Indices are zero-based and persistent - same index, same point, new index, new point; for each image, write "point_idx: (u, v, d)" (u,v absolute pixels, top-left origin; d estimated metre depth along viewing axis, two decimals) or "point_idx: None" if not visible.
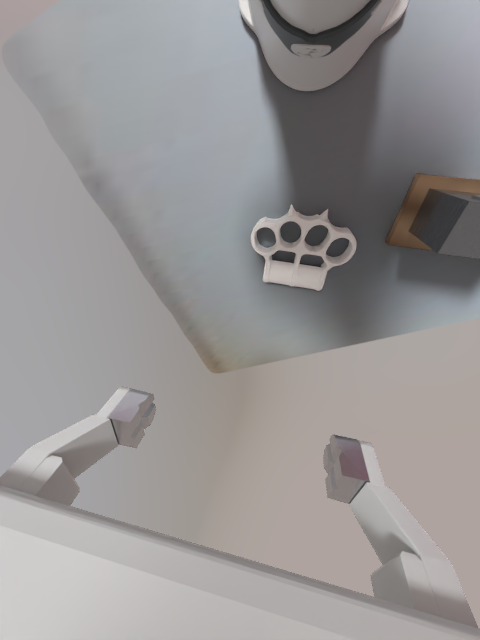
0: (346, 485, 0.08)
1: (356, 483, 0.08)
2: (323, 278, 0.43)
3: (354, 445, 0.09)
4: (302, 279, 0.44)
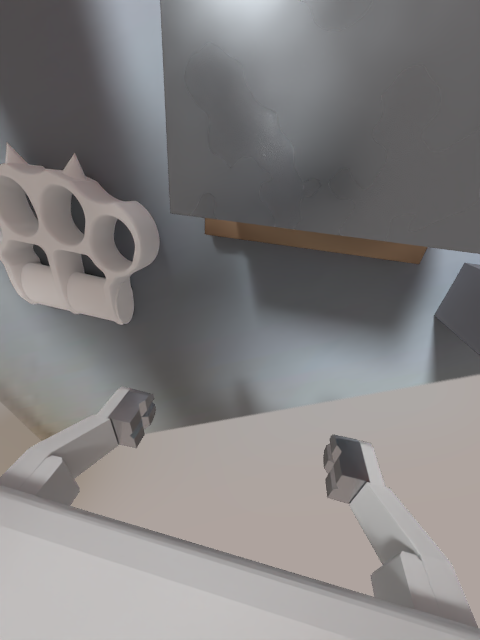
0: (346, 486, 0.08)
1: (356, 483, 0.08)
2: (109, 301, 0.22)
3: (354, 445, 0.09)
4: (79, 301, 0.23)
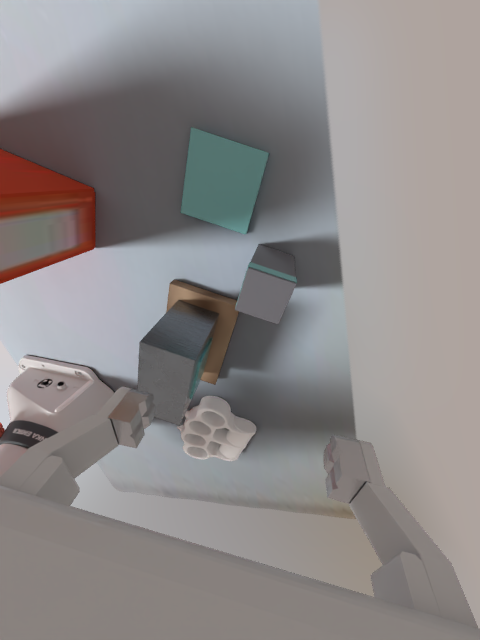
0: (346, 486, 0.08)
1: (356, 483, 0.08)
2: (238, 432, 0.43)
3: (354, 445, 0.09)
4: (237, 442, 0.46)
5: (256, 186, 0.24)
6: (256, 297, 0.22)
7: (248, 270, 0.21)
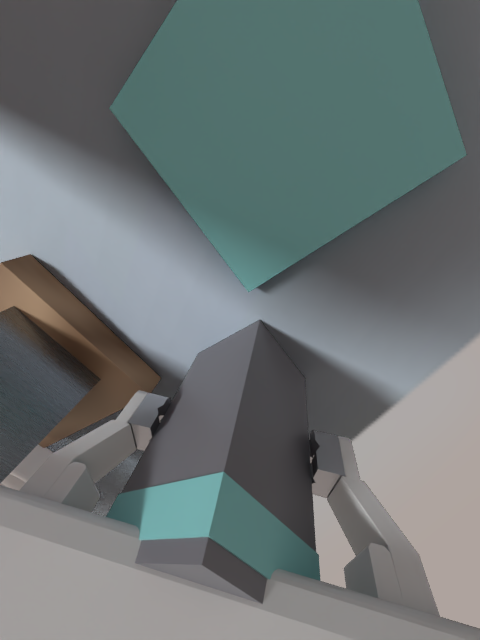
0: (323, 480, 0.08)
1: (332, 477, 0.08)
2: None
3: (332, 440, 0.09)
4: None
5: (356, 214, 0.08)
6: None
7: (198, 567, 0.04)
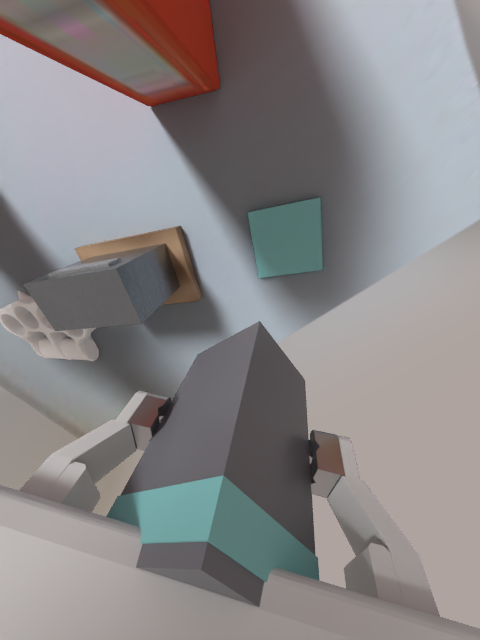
0: (322, 480, 0.08)
1: (332, 477, 0.08)
2: (80, 351, 0.42)
3: (332, 440, 0.09)
4: (68, 353, 0.43)
5: (296, 270, 0.29)
6: None
7: (197, 572, 0.04)
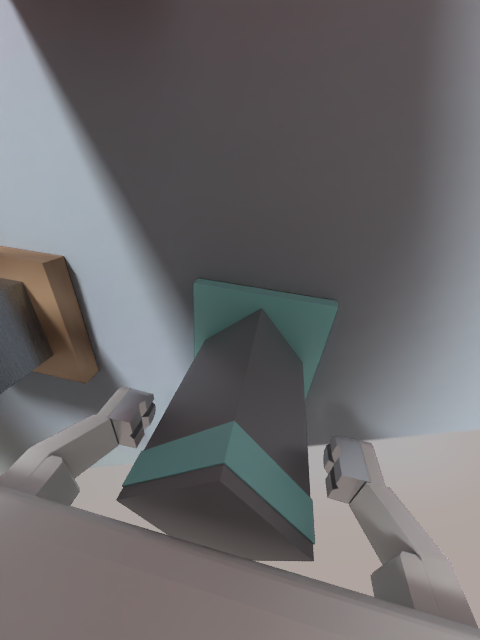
0: (346, 486, 0.08)
1: (356, 483, 0.08)
2: None
3: (354, 445, 0.09)
4: None
5: None
6: (192, 519, 0.07)
7: (216, 484, 0.06)
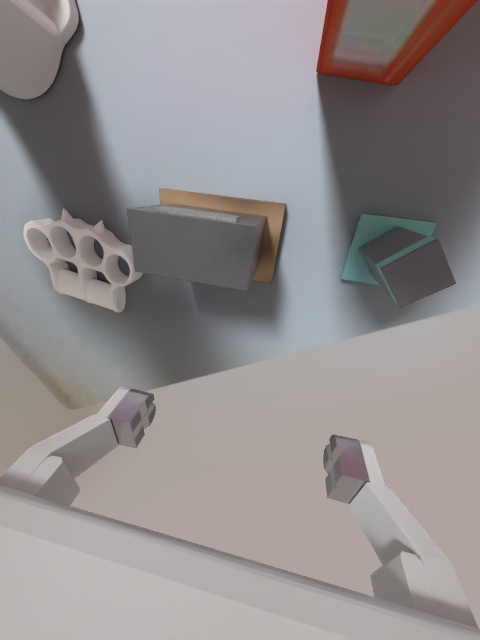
0: (346, 486, 0.08)
1: (356, 483, 0.08)
2: (111, 298, 0.38)
3: (354, 445, 0.09)
4: (93, 296, 0.39)
5: None
6: (412, 271, 0.21)
7: (436, 242, 0.19)
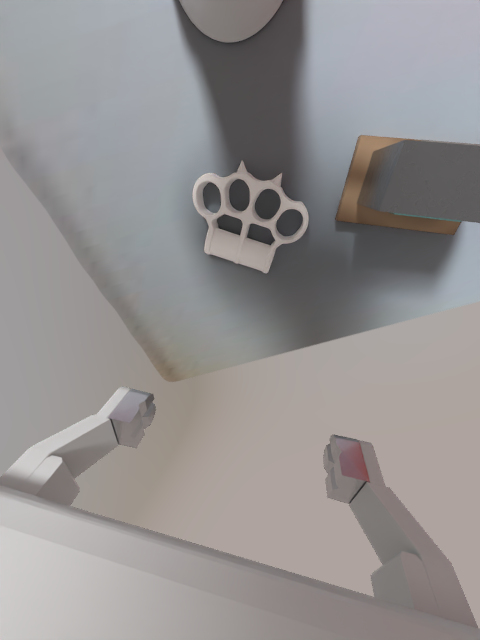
0: (346, 485, 0.08)
1: (356, 483, 0.08)
2: (270, 257, 0.38)
3: (354, 445, 0.09)
4: (248, 255, 0.39)
5: None
6: None
7: None
